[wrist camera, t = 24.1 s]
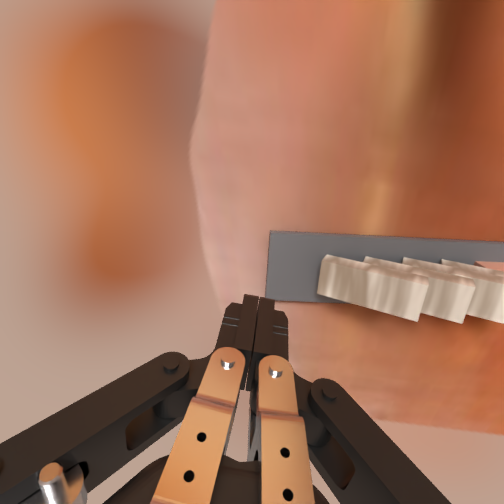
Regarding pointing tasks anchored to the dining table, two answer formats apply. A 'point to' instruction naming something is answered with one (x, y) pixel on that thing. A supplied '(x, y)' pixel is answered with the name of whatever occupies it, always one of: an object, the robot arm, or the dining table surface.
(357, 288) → the domino
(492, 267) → the end domino
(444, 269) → the domino
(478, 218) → the dining table surface
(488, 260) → the domino board
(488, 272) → the domino
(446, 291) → the domino
